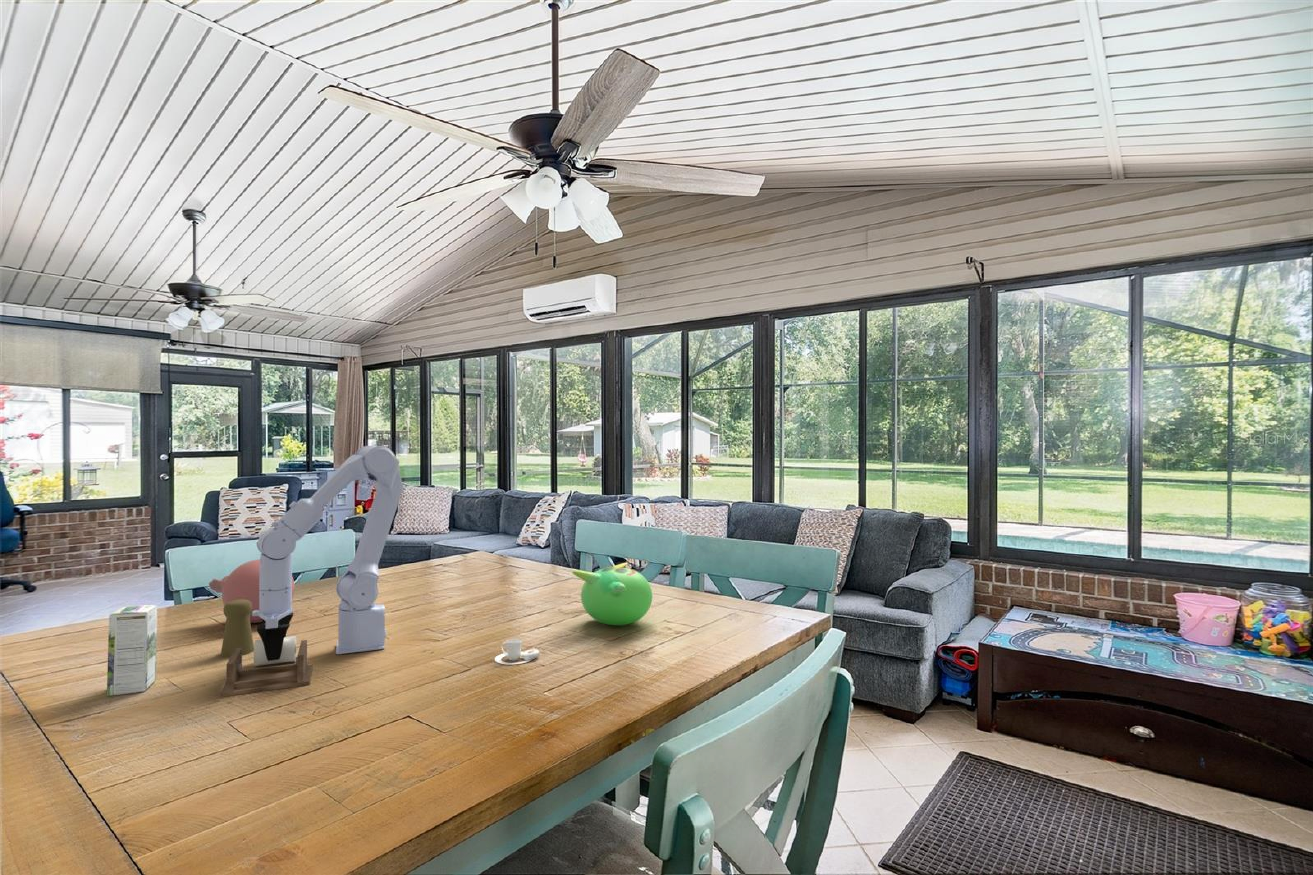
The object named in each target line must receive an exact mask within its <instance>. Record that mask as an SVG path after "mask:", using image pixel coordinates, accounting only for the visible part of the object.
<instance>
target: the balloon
mask: <svg viewBox="0 0 1313 875" xmlns="http://www.w3.org/2000/svg"><path fill="white" fill-rule="evenodd" d="M260 564H261V563H260V558H259V559H254V560H249V561H247V562H245V563H242V564H241V565H239V566H237V567H236V568H234V570H232V572H231V573H230V574H228V575H226V576H224V577H223V578H221V579H219V578H213V579H212V580H211V581H209V582H208V586H209V587H208V588H210V590H212V591H214V592H215V593H221V600H222V604H223V607H224V606H225V604H226V603H228V602H230V601H233V600H241V599H243V600H249V601H250V602H251V603H252V611H251V613H250V614H249V618H250V624H258V623H259V624H260V623H263V621H262V618H261V617H259V616H252V612H253V611H255V610H259V568H260ZM295 588H296V587H295V581H294V577H293V576H292V599H293V598H294V594H295Z"/></svg>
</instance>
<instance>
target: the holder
mask: <svg viewBox="0 0 1313 875" xmlns="http://www.w3.org/2000/svg"><path fill="white" fill-rule="evenodd" d="M296 655H297V656H296V659H295V661H294V662H295V663H290V664H282V665H272V666H265V667H257V668H249V669H248V668H247V669H243V655H242V647H238V648H235V650H234V652H233V654H232V655H231V657H229V659H228V661H227V663H226V668H225V669H226V674H225V675H226V676H225V677H226V678H225V679H226V681H225V683H224V685H223V686H222V688H221V690H220V692H219V698H221V697H228V696H229V697H230V696H237V695H244V694H250V693H258V692H259V693H260V692H267V691H272V690H281V689H287V688H288V689H289V688H295V687H300V686H301V687H302V686H309V685H310V684H311V679H312V674H313V666H314V665H313V664H308V639H303V640H300V644H299V648H298V652H297V654H296Z"/></svg>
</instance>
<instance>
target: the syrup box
mask: <svg viewBox="0 0 1313 875" xmlns="http://www.w3.org/2000/svg"><path fill="white" fill-rule="evenodd" d="M157 630H158V605H155V604H154V605H152V604H151V605H150V604H143V605H139V604H138V605H129V606H124V607H123V606H122V607H119V609H117V610H116V611H113V612H112V613H111V614H110V615H109V616H108V638H107V640H108V642H107V643H108V645H107V676H106V677H107V678H106V679H107V682H106V696H108V697H110V696H119V695H126V694H127V695H128V694H134V693H142V692H146V691H148V689H149V688H150V687H151V686H152V685H153V684H154V683H155V681H156V679H157V678H156V677H157V672H156V671H157V640H158V638H157V637H158V636H157V635H158V633H157V632H158V631H157Z"/></svg>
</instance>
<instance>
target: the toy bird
mask: <svg viewBox="0 0 1313 875" xmlns="http://www.w3.org/2000/svg"><path fill="white" fill-rule="evenodd" d="M627 565H628V562H622V563H619V564H617V565H612V566H607V567H604V568H602V569H601V568H600V569H598V570H596V571H595V572H591V571H586V570H576V569H575V570H572V572H571V574H573V575H574V576H576V577H577V578H579V579H581V580H583V581H584V583H583V585H582V588H581V592H580V600H581V604H582V606H583V609H584V610H585V612H586V613H587V614H588V615H589V616H590V617H591V618H592V619H593V620H595V621H597V622H599V623H601V624H605V625H608V626H626V625H629V624H633V623H635V622H638V621H639V620H641V619H642V618H644V616H646V614H647V613H648V611H649V610H650V608H651V606H652V602H653V590H652V588H651V585H650V583H649V582H648V580H647V579H646V577H645V576H643V574H642V573H639V572H638V571H637V570H634V569H632V568H628V567H626V566H627Z"/></svg>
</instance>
